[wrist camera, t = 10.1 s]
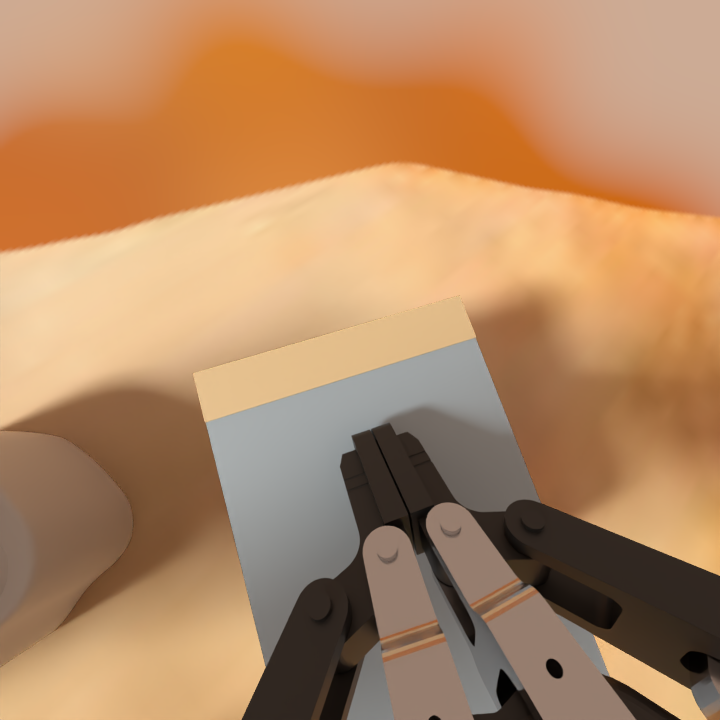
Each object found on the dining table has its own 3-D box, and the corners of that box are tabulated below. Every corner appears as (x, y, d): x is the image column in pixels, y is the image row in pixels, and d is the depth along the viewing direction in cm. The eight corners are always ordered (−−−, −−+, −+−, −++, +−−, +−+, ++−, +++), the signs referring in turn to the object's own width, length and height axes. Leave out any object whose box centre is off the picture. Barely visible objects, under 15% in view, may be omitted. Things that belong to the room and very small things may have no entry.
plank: (597, 673, 13) (617, 692, 12) (311, 818, 11) (310, 852, 10) (452, 302, 15) (459, 295, 14) (201, 376, 14) (192, 373, 13)
